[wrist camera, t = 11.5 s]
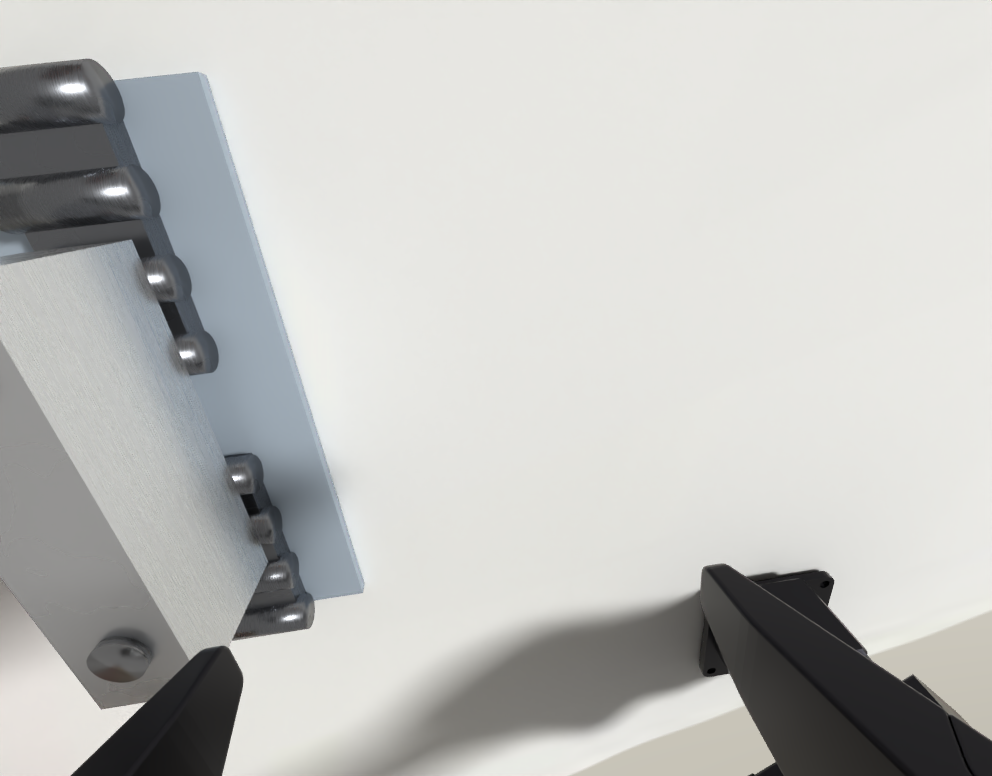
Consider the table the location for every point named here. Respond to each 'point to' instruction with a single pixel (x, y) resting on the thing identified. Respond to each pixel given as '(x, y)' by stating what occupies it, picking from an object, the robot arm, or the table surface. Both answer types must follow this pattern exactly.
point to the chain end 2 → (269, 560)
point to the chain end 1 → (88, 184)
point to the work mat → (236, 320)
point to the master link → (112, 477)
